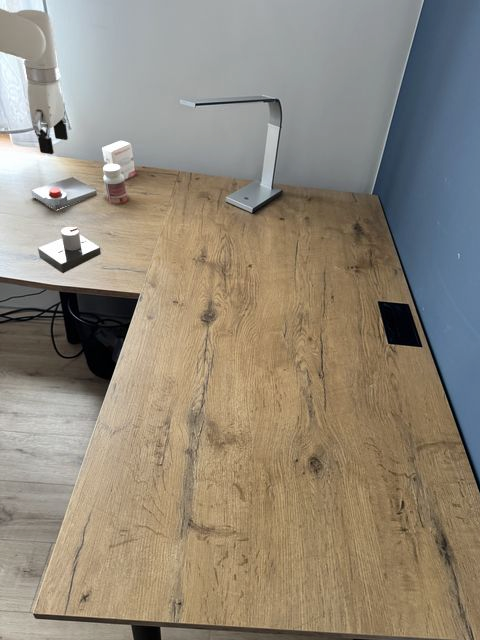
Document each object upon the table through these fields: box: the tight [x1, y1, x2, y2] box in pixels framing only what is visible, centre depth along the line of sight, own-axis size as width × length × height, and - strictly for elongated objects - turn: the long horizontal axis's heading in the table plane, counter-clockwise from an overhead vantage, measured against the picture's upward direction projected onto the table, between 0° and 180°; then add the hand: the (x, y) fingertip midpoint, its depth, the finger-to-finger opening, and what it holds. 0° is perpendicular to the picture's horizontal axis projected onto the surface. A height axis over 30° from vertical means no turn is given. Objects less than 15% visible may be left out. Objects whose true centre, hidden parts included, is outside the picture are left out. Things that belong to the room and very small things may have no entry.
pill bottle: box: [102, 164, 128, 205], centre depth 155 cm, size 6×6×11 cm
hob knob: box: [60, 226, 81, 251], centre depth 131 cm, size 4×4×5 cm
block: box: [30, 176, 98, 211], centre depth 156 cm, size 16×13×4 cm
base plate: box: [37, 234, 102, 274], centre depth 133 cm, size 12×10×3 cm
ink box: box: [101, 140, 136, 181], centre depth 166 cm, size 9×5×12 cm, turn 145°
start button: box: [49, 188, 61, 198], centre depth 150 cm, size 3×3×2 cm
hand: (54, 145), depth 130 cm, fingers open, 9 cm apart
